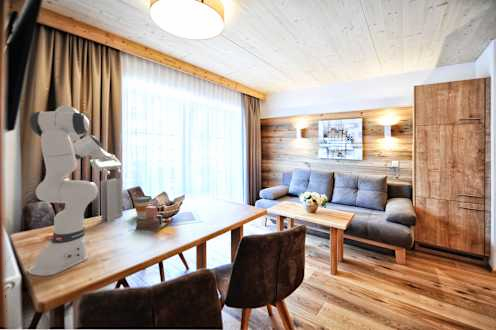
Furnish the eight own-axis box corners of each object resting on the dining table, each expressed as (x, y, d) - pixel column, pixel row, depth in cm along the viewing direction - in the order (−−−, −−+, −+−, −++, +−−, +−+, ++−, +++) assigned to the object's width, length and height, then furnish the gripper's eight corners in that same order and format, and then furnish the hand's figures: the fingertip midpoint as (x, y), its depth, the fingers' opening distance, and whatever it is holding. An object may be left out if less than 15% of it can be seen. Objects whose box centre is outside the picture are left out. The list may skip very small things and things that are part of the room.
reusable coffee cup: (144, 212, 183) (144, 195, 182) (155, 215, 177) (155, 197, 176) (131, 216, 172) (130, 198, 170) (142, 219, 166) (141, 200, 165)
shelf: (157, 231, 144) (157, 220, 143) (135, 229, 146) (135, 218, 146) (166, 225, 155) (166, 215, 155) (146, 223, 158) (146, 213, 157)
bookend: (161, 224, 153) (161, 215, 153) (148, 222, 155) (148, 214, 154) (162, 223, 154) (162, 215, 154) (149, 222, 156) (149, 214, 156)
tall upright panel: (107, 221, 158) (106, 181, 156) (101, 221, 160) (100, 180, 157) (122, 215, 172) (122, 178, 170) (116, 215, 173) (116, 178, 171)
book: (153, 226, 148) (153, 208, 147) (145, 225, 149) (145, 207, 148) (157, 224, 152) (157, 206, 151) (149, 223, 153) (149, 205, 152)
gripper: (90, 155, 136) (104, 171, 135) (115, 154, 156) (128, 168, 155) (84, 162, 137) (98, 178, 136) (110, 160, 157) (122, 174, 156)
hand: (114, 173), depth 146 cm, fingers open, 8 cm apart
